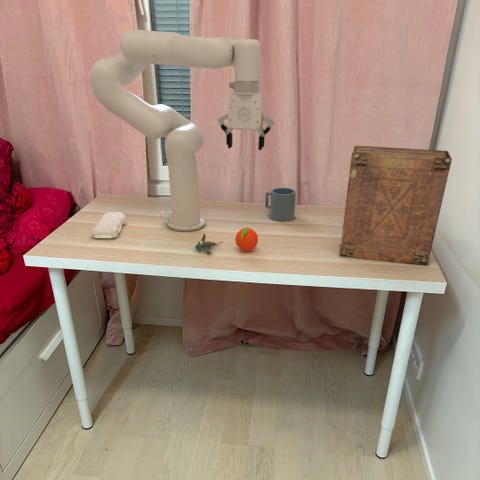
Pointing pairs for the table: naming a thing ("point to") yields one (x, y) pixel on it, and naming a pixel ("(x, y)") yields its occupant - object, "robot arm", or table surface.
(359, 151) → the book
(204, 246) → the dragon figurine
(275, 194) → the blue mug
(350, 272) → the table surface
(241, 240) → the clementine
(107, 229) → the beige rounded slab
